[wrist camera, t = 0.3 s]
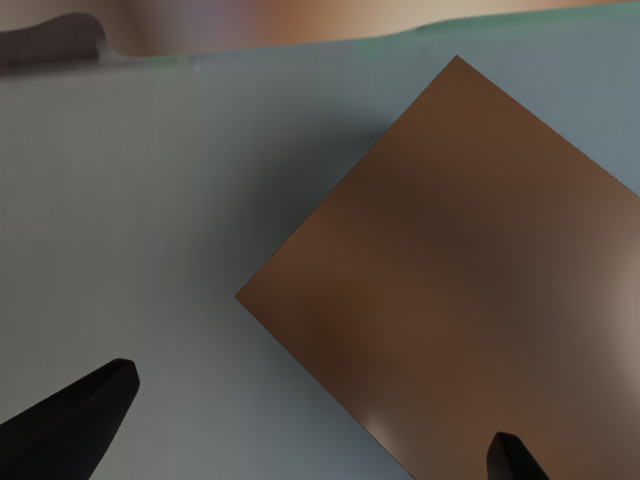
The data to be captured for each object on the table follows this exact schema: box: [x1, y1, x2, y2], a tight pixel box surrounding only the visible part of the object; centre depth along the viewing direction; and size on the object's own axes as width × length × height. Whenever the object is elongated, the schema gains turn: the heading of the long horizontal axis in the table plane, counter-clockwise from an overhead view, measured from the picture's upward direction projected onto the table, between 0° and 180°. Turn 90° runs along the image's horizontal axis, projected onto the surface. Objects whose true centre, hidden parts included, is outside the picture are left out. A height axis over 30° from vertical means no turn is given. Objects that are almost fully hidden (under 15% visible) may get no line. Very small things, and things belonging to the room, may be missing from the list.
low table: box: [235, 55, 640, 480], centre depth 18 cm, size 14×20×8 cm
